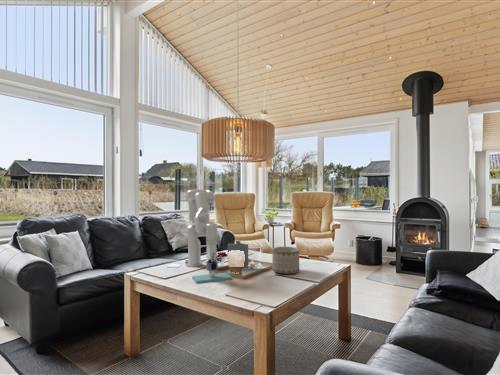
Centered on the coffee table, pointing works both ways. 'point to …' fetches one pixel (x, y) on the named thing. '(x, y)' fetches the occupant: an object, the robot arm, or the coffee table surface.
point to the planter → (285, 260)
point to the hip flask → (242, 248)
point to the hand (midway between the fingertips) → (212, 267)
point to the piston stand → (211, 277)
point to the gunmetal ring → (208, 265)
